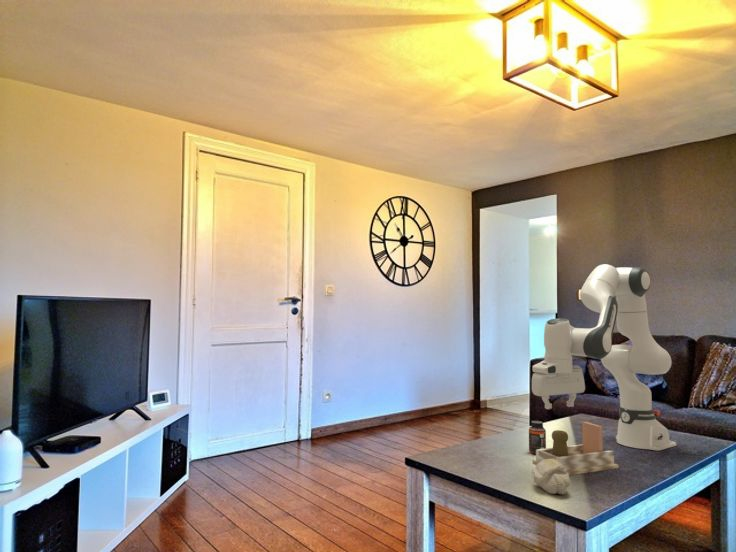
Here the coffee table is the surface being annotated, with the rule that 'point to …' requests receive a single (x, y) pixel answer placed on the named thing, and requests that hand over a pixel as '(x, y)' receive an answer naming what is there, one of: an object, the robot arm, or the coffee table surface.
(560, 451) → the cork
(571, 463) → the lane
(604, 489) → the coffee table surface
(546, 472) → the fossil replica
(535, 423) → the supplement bottle
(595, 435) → the block
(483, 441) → the coffee table surface
